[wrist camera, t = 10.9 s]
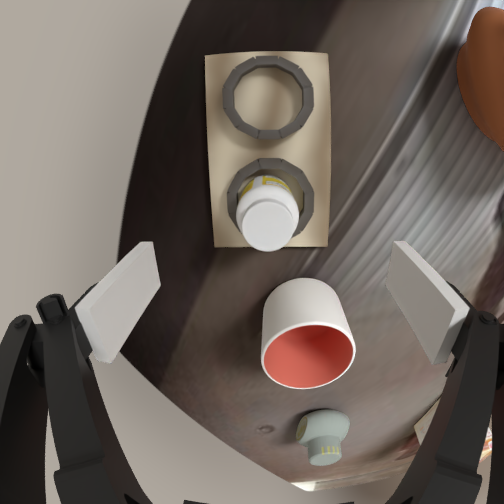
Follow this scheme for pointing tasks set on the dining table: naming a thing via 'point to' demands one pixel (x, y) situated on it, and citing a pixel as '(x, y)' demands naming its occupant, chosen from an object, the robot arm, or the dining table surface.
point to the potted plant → (484, 72)
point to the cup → (305, 335)
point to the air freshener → (323, 435)
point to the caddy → (269, 136)
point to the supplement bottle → (267, 213)
